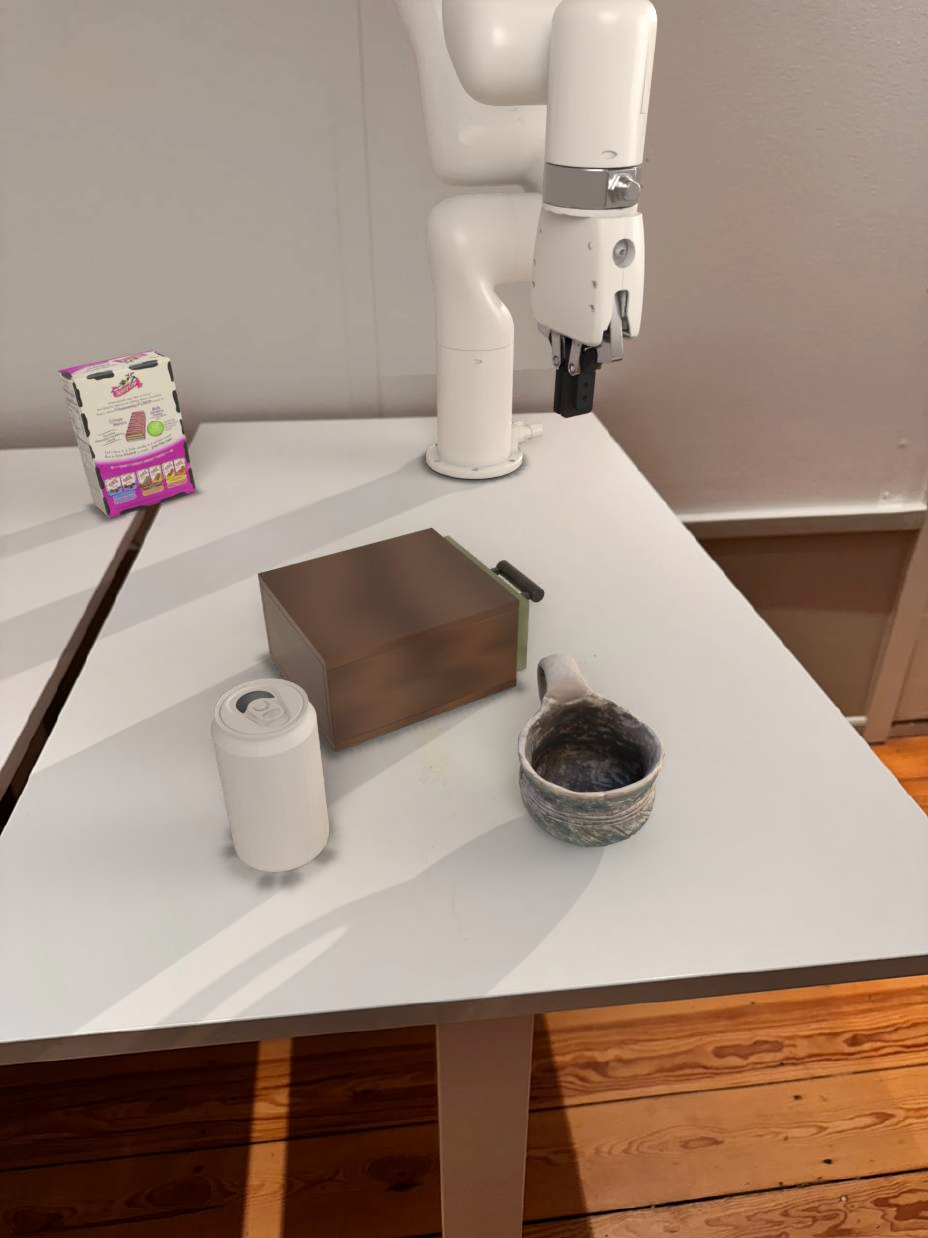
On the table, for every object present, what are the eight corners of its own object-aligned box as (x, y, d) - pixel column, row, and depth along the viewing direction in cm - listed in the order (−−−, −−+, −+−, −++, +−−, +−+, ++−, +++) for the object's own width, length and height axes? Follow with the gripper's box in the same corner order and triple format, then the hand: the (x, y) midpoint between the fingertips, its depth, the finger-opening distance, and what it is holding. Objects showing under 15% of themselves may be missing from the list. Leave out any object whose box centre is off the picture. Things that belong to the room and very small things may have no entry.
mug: (558, 892, 56) (568, 776, 51) (471, 771, 66) (471, 662, 60) (680, 842, 60) (702, 728, 54) (581, 734, 69) (590, 628, 64)
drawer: (486, 586, 87) (487, 524, 83) (566, 654, 77) (571, 587, 73) (297, 644, 78) (289, 578, 75) (361, 728, 69) (355, 657, 65)
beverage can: (294, 795, 64) (275, 660, 57) (349, 843, 60) (335, 705, 53) (217, 842, 60) (186, 704, 53) (270, 896, 56) (245, 754, 50)
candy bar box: (178, 480, 110) (153, 347, 101) (197, 492, 107) (173, 357, 98) (90, 505, 104) (55, 367, 95) (107, 520, 101) (72, 378, 92)
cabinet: (433, 606, 85) (432, 527, 80) (516, 686, 75) (519, 599, 70) (269, 657, 78) (257, 573, 73) (335, 752, 68) (325, 661, 63)
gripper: (692, 199, 65) (659, 433, 75) (573, 172, 76) (558, 380, 86) (612, 208, 62) (589, 451, 72) (499, 178, 72) (493, 394, 83)
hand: (572, 412), depth 79 cm, fingers closed
